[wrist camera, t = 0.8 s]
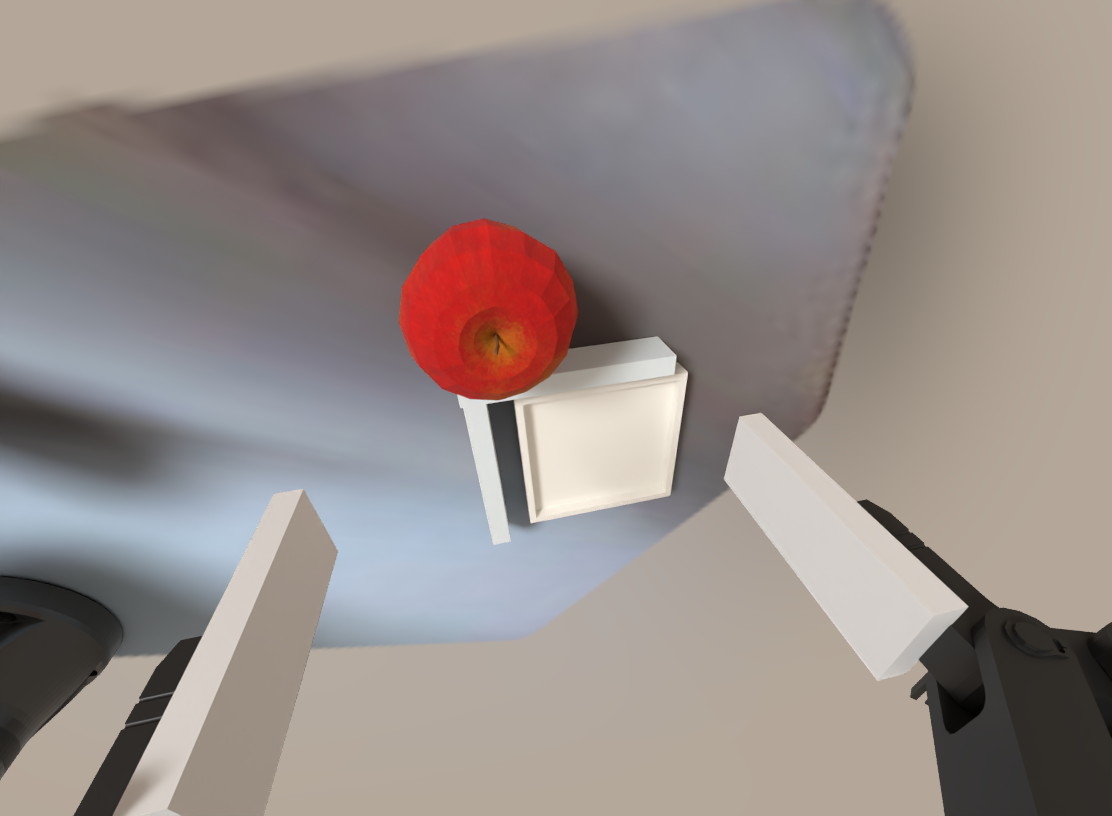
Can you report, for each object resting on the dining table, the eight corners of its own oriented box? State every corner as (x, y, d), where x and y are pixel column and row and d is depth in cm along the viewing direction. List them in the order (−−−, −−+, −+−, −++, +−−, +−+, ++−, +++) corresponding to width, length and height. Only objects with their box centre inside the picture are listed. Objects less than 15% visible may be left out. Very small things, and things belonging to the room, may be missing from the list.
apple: (437, 352, 30) (429, 458, 20) (388, 221, 25) (346, 280, 15) (560, 322, 31) (609, 411, 21) (537, 189, 26) (588, 225, 16)
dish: (528, 509, 41) (530, 523, 40) (511, 387, 33) (514, 399, 32) (662, 483, 43) (670, 495, 42) (678, 362, 35) (688, 372, 34)
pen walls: (488, 516, 41) (491, 545, 38) (455, 365, 31) (455, 388, 28) (643, 486, 43) (657, 511, 40) (657, 336, 33) (676, 355, 30)
